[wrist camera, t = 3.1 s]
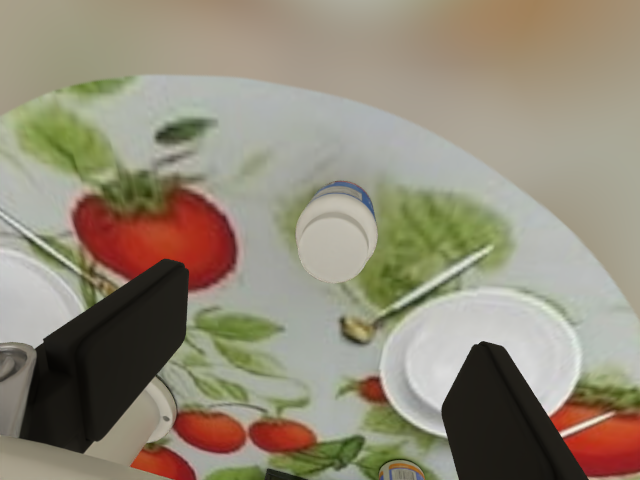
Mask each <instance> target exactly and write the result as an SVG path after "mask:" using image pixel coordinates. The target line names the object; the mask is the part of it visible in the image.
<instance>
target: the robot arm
mask: <svg viewBox="0 0 640 480" xmlns="http://www.w3.org/2000/svg"><path fill="white" fill-rule="evenodd" d="M188 281H189V271H188V269H187V268H185V265H184V264H183V263H181V262H177V261H174V260H170V259H163V260H161V261H160V262H158V263H157V264H155V265H154V266H152V267H151V268H149V269H148V270H146V271H145V272H143V273H142V274H140V275H139V276H137V277H136V278H134V279H133V280H131V281H130V282H128V283H127V284H125V285H124V286H122V287H121V288H119V289H118V290H116V291H115V292H113V293H112V294H110V295H109V296H107V297H106V298H104V299H103V300H101V301H100V302H98V303H97V304H95V305H94V306H92V307H91V308H89V309H88V310H86V311H85V312H83V313H82V314H80V315H79V316H77V317H76V318H74V319H73V320H71V321H70V322H68V323H67V324H65V325H64V326H62V327H60V328H59V329H57V330H56V331H54V332H53V333H51V334H50V335H48V336H47V337H45V338H44V339H43V340H44V343H42V344H41V345H40V346H38V347H37V348H35V349H34V348H33V347H32V346H30V345H27V344H24V343H16V342H9V343H0V480H173V479H169V478H166V477H162V476H159V475H156V474H152V473H149V472H145V471H142V470H138V469H135V468H132V467H130V466H131V464H132V463H133V461H134V460H135V458H136V457H137V455H138V454H139V452H140V451H141V449H142V448H143V446H144V445H145V444H146V443H150V442H153V441H157V440H159V439H161V438H163V437H164V436H165V435H166V434H167V433H168V432H169V431H170V429H171V428H172V426H173V424H174V422H175V420H176V413H177V411H176V405H175V402H174V399H173V397H172V395H171V393H170V392H169V390H168V389H167V387H166V386H165V385H164V384H163V383H162V382H161V381H160V380H159V379H158V378H157V377H156V375H157V373H158V372H159V371H160V370H161V369H162V367H163V366H164V365H165V364H166V363H167V361H168V360H169V359H170V358H171V357H172V355H173V354H174V353H175V352H176V351H177V349H178V348H179V347H180V346H181V344H182V343H183V341H184V339H185V335H186V321H187V301H188ZM441 412H442V419H443V422H444V426H445V430H446V433H447V437H448V441H449V445H450V448H451V452H452V456H453V459H454V463H455V467H456V471H457V474H458V478H459V480H589V479H588V478H587V476H586V475H585V473H584V472H583V470H582V468H581V467H580V465H579V464H578V462H577V461H576V459H575V457H574V456H573V454H572V453H571V451H570V450H569V448H568V446H567V445H566V443H565V442H564V440H563V439H562V437H561V435H560V434H559V432H558V431H557V429H556V428H555V426H554V424H553V423H552V421H551V420H550V418H549V417H548V415H547V413H546V412H545V410H544V409H543V407H542V406H541V404H540V402H539V401H538V399H537V398H536V396H535V395H534V393H533V391H532V390H531V388H530V387H529V385H528V384H527V382H526V381H525V379H524V377H523V376H522V374H521V373H520V371H519V370H518V368H517V366H516V365H515V363H514V362H513V360H512V359H511V357H510V355H509V354H508V352H507V351H506V349H505V348H504V347H503V346H500V345H496V344H492V343H489V342H485V341H482V342H480V343H479V344H475V345H473V347H472V348H471V350H470V352H469V354H468V356H467V358H466V360H465V362H464V364H463V366H462V368H461V370H460V371H459V373H458V375H457V377H456V379H455V381H454V383H453V385H452V387H451V389H450V391H449V393H448V395H447V397H446V399H445V401H444V402H443V405H442V411H441Z"/></svg>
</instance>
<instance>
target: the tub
mask: <svg viewBox="0 0 640 480" xmlns="http://www.w3.org/2000/svg"><path fill="white" fill-rule="evenodd" d="M265 480H306V479H303V478H299V477H296V476H292V475H288V474H285V473H281V472H278V471H274V470H271V469H267V473H266V477H265Z"/></svg>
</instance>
